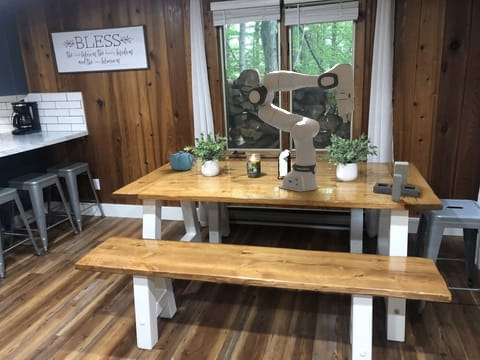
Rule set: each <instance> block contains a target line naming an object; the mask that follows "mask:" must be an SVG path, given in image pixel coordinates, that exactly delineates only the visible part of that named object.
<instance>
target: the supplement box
mask: <svg viewBox="0 0 480 360" xmlns="http://www.w3.org/2000/svg"><path fill="white" fill-rule="evenodd" d="M393 166H394V167H393V175H394V174H400V175H402V180H401V185H408V177H409V176H408V175H409V174H408V173H409V162H408V161H394V165H393Z"/></svg>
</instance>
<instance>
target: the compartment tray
mask: <svg viewBox="0 0 480 360" xmlns="http://www.w3.org/2000/svg"><path fill="white" fill-rule="evenodd" d="M392 186H393V183H387V182H375V184H374V185H373V187H372V192H373V193H378V194H385V195H386V194H388V195H392ZM419 193H420V186H419V185H411V184H407V185H401V194H400V196H406V197H407V196H408V197H415V198H417V197H418V194H419Z"/></svg>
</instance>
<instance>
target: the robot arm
mask: <svg viewBox="0 0 480 360" xmlns="http://www.w3.org/2000/svg"><path fill="white" fill-rule="evenodd" d="M354 80H355V79H354V71H353V67H352V65H351V64H350V63H347V62H346V63H344V62H343V63H342V62H339V63H336V64H335V65H334V66H333V67H332V68H330V69H329V70H326V71H324V72H322V73H321V74H304V73H299V72H297V71H296V72H294V71H289V70H278V71H271V72H267V73H266V74H265V75H264V76H263V82H262V84H261V83H258V84H257V85H256V86H254V87H253V88H251V89H250V90H249V91H248V92H247V100H248V101H249V103H250V104H251V105H252V106H256V107H258V112H257V116H258V118H259V119H260V120H261V121H262V122H264V123H266V124H267V125H270V126H272V127H274V128H275V129H278V130H280V131H282V132H287V133H290V137H291V138H292V139H293V142H294V149H295V162H294V164H292V165H291V168H292V170H290V171H289V172H288V173H286V174H285V175H284V176H283V179H282V182H281V183H279V185H278V187H279V189H284V190H287V191H288V190H289V191H295V192H299V193H300V192H310V191H314V190H315V191H316V190H318V189H319V187H318V182H317V176H316V175H317V174H316V173H317V163H316V149H315V146H314V140H313V138H315V137H316V136H317V135H318V133H319V132H320V128H321V127H320V124H319V122H318V121H317V120H315V119H312V118H309V117H305V116H303V115H300V114H296V113H292V112H290V111H288V110H285V109H283V108H281V107H278V106H276V105H275V103H276V98H277V97H276V96H277V93H276V92H291V91H295V90H298V89H302V88H308V87H316V88H317V87H318V88H319V89H320V90H322V91H326V92H327V91H336V93H335V96H334V97H335V101H336V107H337V108H336V109H337V113H338V115H341V118H342V122H343V123H344V124H346V123H348V122H350V121H352V120H353V118H352V116H353V112H354V111H355V101H354V98H356V97H355V86H354Z"/></svg>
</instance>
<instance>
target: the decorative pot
mask: <svg viewBox="0 0 480 360" xmlns="http://www.w3.org/2000/svg"><path fill="white" fill-rule="evenodd" d="M168 157H169V160H170V162H169V166H170V168H171V169H172V170H174V171H175V172H177V171H183V172H187V170H190V169H192V168H193V167H195V165H196V163H195V162H194V161H195V156H194V155H193V154H190V153H189V152H185V151H183V150H179V151H178V152H176V153H172V154H170V155H169V156H168Z"/></svg>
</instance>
